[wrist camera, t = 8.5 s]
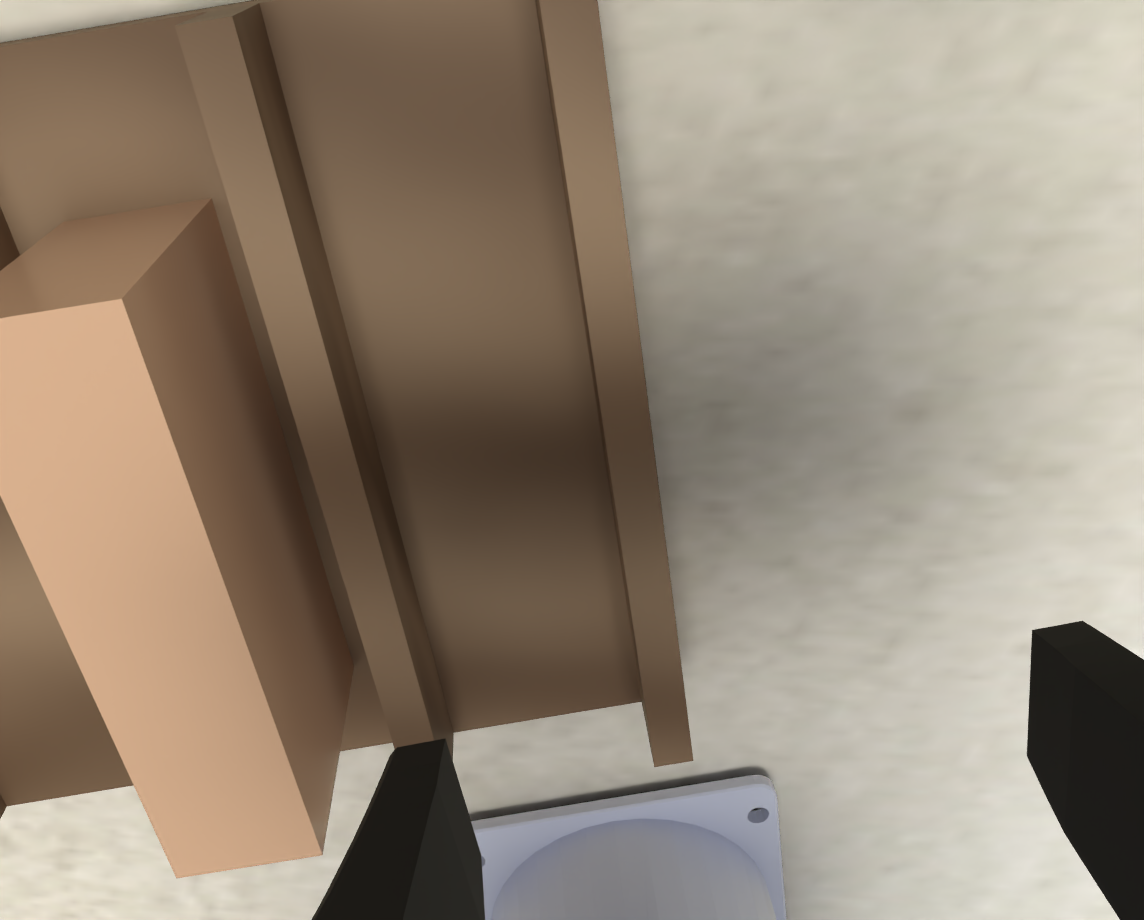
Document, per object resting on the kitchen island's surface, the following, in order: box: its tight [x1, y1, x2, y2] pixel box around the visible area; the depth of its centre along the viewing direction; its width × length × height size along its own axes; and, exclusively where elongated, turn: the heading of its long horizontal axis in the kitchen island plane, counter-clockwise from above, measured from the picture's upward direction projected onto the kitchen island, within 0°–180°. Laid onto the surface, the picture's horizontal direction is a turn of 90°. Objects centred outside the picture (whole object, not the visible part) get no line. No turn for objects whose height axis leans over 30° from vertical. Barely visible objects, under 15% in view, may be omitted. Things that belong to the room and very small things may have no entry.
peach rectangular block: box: [0, 198, 354, 878], centre depth 18 cm, size 10×2×5 cm, turn 8°
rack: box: [0, 0, 693, 818], centre depth 20 cm, size 15×16×3 cm
